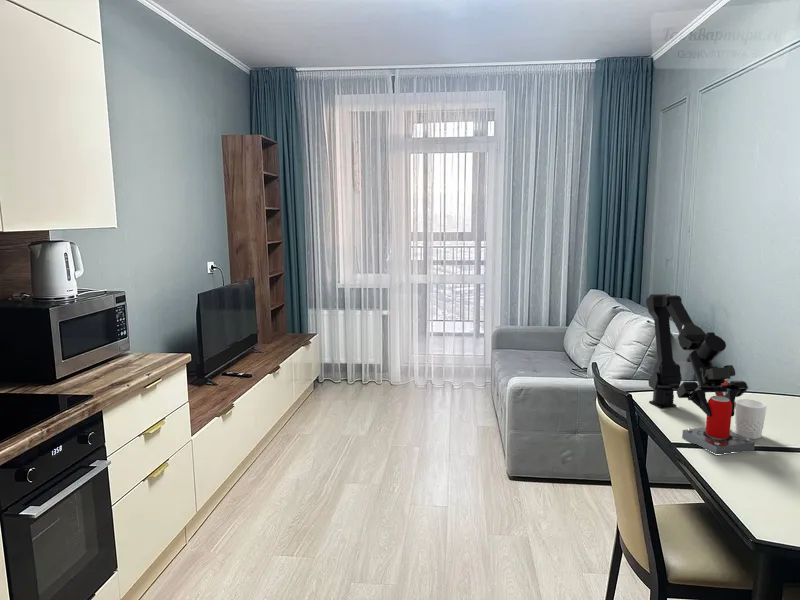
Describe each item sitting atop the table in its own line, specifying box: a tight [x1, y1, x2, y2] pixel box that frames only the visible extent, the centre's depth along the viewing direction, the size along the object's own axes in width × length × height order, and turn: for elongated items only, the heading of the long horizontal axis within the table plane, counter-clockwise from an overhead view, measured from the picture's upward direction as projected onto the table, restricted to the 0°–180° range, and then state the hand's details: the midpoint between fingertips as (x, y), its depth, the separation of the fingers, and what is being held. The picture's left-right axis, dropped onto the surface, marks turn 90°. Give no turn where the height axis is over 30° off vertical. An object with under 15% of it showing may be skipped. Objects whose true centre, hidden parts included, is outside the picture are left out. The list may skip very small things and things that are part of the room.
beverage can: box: [705, 395, 732, 441], centre depth 164 cm, size 6×6×12 cm
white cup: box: [734, 398, 767, 440], centre depth 170 cm, size 8×8×10 cm
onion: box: [714, 379, 730, 397], centre depth 200 cm, size 6×6×8 cm
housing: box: [681, 426, 756, 455], centre depth 164 cm, size 13×13×3 cm
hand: (721, 416), depth 162 cm, fingers closed on beverage can, 6 cm apart
